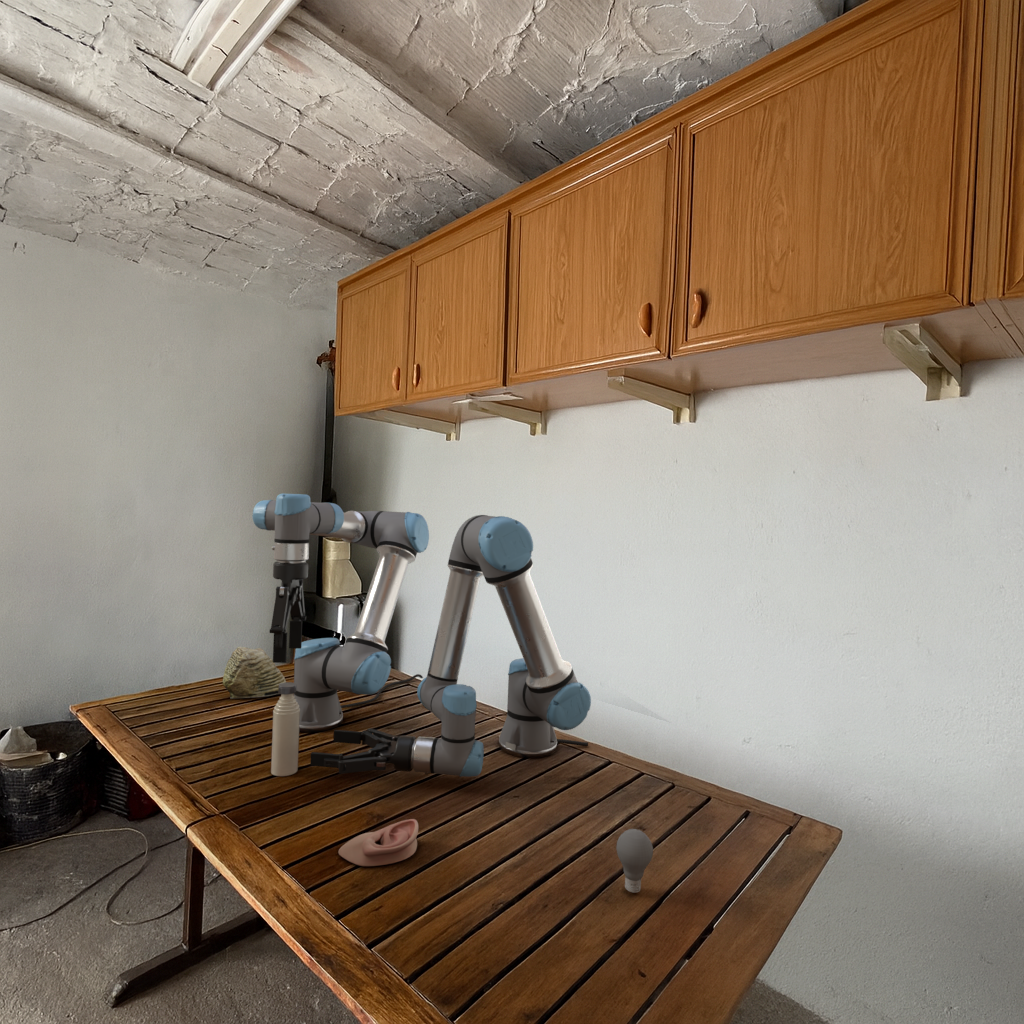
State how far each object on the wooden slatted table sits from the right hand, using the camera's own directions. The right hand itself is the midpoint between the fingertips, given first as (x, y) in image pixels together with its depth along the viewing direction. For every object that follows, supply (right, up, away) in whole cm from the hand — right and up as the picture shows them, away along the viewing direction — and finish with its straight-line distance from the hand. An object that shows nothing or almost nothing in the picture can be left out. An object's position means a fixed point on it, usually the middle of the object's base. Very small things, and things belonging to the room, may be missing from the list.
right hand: (323, 746), depth 144 cm
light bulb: (+63, -10, -39) cm, 75 cm away
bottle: (-9, -6, +1) cm, 11 cm away
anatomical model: (+19, -8, -30) cm, 36 cm away
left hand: (-8, +21, +1) cm, 22 cm away
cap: (-8, +14, +1) cm, 16 cm away
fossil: (-38, -4, +54) cm, 65 cm away
